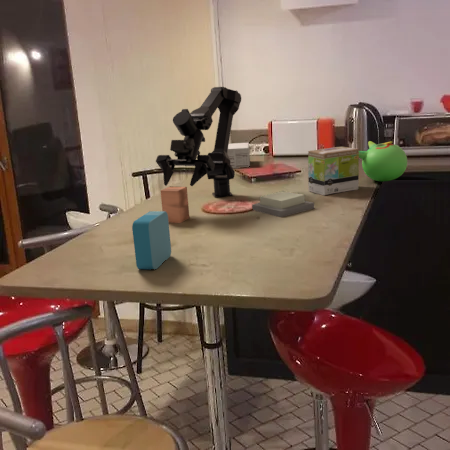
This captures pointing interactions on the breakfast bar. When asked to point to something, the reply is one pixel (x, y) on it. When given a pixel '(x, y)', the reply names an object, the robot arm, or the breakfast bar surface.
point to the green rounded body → (383, 161)
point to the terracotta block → (175, 203)
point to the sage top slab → (282, 199)
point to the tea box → (333, 170)
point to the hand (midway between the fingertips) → (178, 185)
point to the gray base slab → (283, 211)
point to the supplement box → (239, 155)
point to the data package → (151, 239)
